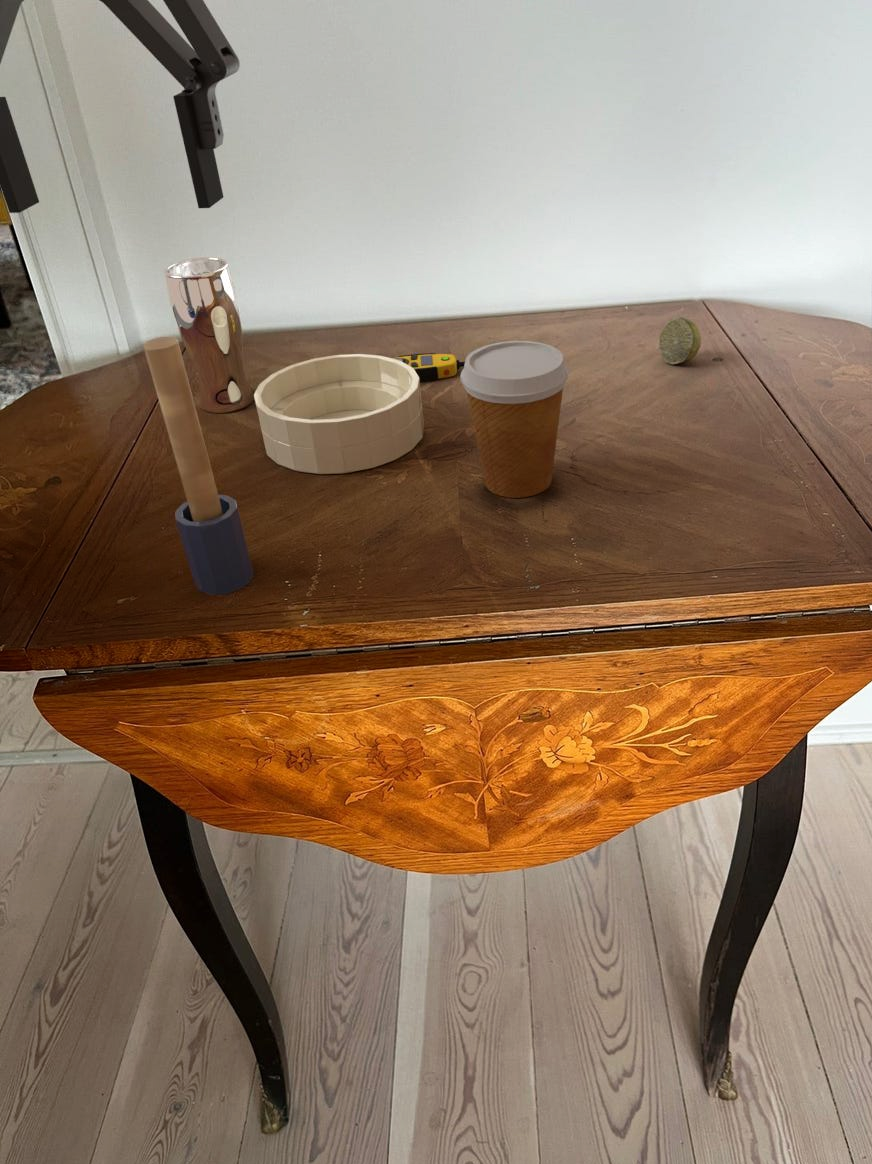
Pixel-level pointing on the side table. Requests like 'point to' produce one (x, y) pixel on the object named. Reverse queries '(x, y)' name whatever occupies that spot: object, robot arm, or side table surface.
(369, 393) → the bowl
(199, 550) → the holder
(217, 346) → the beer glass
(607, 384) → the side table surface
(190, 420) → the stick
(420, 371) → the yellow handheld meter
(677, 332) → the lime
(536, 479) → the disposable coffee cup
